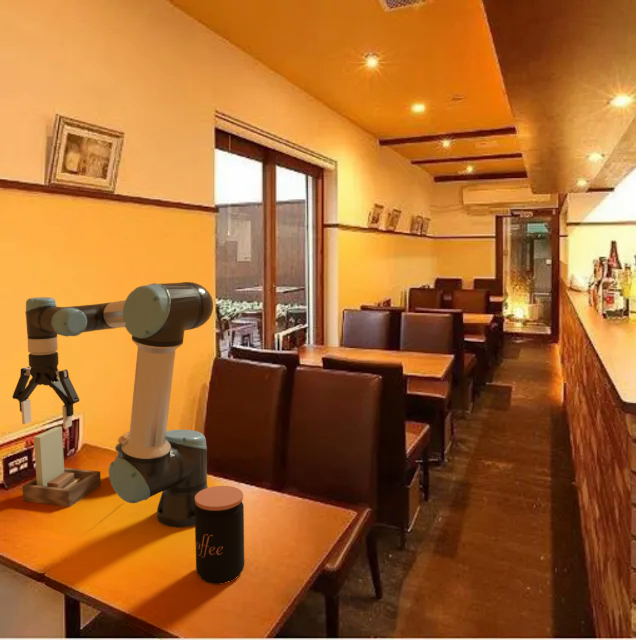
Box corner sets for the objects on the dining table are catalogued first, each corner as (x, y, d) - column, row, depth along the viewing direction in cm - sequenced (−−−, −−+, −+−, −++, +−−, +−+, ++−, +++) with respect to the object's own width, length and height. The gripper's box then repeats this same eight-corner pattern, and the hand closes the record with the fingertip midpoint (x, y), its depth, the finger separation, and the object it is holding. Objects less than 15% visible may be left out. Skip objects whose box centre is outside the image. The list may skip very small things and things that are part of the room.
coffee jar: (187, 571, 124) (184, 495, 122) (226, 553, 131) (225, 481, 129) (213, 592, 117) (212, 511, 114) (254, 572, 124) (253, 495, 122)
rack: (101, 490, 165) (100, 471, 164) (70, 512, 152) (68, 491, 151) (57, 485, 169) (56, 466, 168) (23, 506, 155) (22, 485, 154)
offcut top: (74, 481, 162) (73, 473, 162) (58, 492, 155) (58, 483, 155) (63, 480, 163) (63, 472, 162) (47, 491, 155) (47, 482, 155)
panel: (65, 485, 165) (61, 427, 163) (43, 498, 156) (39, 437, 154) (59, 485, 165) (55, 427, 163) (37, 498, 157) (33, 437, 154)
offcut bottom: (80, 486, 164) (80, 478, 164) (57, 501, 155) (57, 493, 154) (69, 485, 165) (68, 477, 165) (45, 499, 156) (44, 491, 155)
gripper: (90, 352, 156) (93, 424, 159) (15, 347, 162) (20, 417, 165) (73, 357, 149) (76, 432, 152) (-5, 352, 155) (0, 425, 158)
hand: (47, 425), depth 158 cm, fingers open, 13 cm apart
